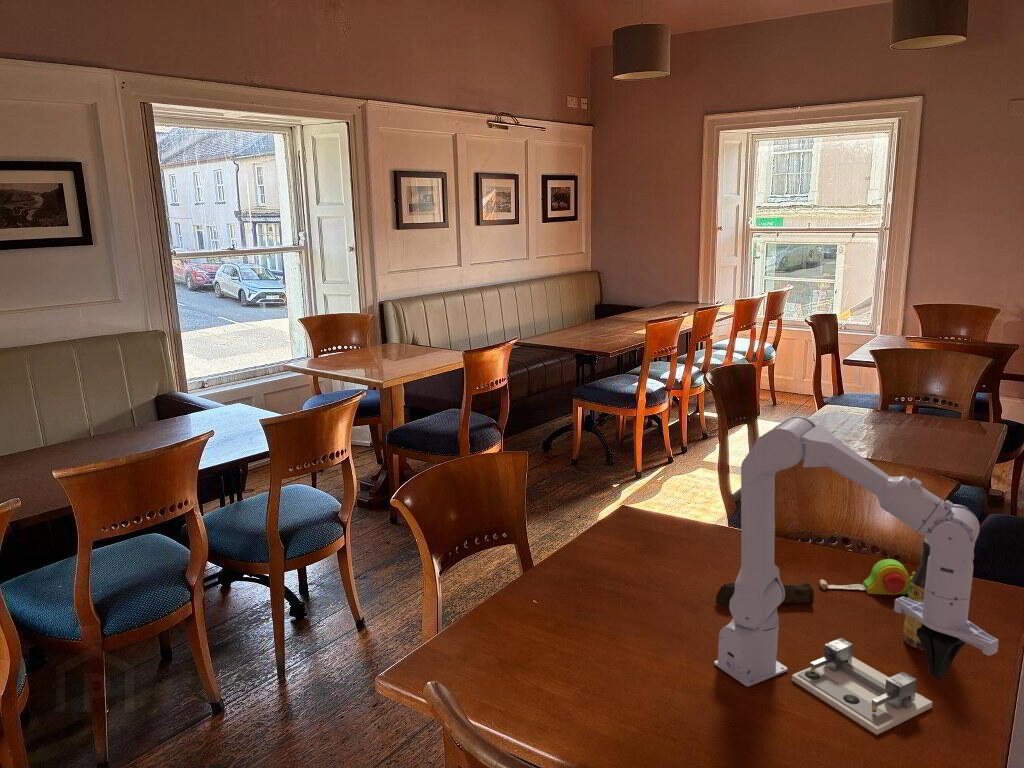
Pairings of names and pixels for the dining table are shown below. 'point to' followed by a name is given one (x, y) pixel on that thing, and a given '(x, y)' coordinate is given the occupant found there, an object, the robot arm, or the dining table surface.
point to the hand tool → (792, 595)
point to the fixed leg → (834, 655)
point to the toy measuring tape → (881, 579)
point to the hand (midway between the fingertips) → (938, 675)
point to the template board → (859, 694)
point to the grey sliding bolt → (896, 691)
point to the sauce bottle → (916, 599)
